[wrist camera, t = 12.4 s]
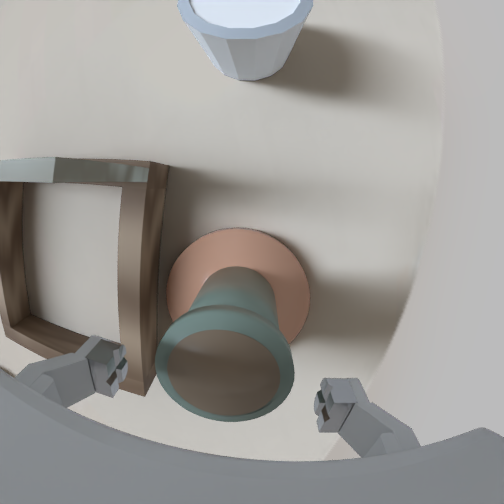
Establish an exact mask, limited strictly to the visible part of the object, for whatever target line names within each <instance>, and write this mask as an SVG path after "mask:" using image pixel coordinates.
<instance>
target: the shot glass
mask: <svg viewBox="0 0 504 504" xmlns="http://www.w3.org/2000/svg"><path fill="white" fill-rule="evenodd" d="M177 7H178V9H179V11H180V14H181V16H182V19H183V21H184V22H185V24H186V25H187V26H188V28H189V29H190V31H191V32H192V34H193V35H194V36H195V38H196V39H197V41H198V42H199V44H200V45H201V47H202V48H203V50H204V51H205V52H206V54H207V55H208V57H209V58H210V60H211V61H212V63H213V65H214V66H215V67H216V68H217V69H218V70H219V71H221V72H222V73H223V74H224V75H226V76H229V77H232V78H234V79H237V80H252V81H256V80H259V79H262V78H266V77H269V76H271V75H273V74H274V73H276V72H277V71H278V70H280V69H281V68H282V67H283V65H284V63H285V62H286V60H287V58H288V56H289V54H290V52H291V50H292V48H293V46H294V43H295V41H296V39H297V37H298V35H299V33H300V31H301V29H302V27H303V25H304V23H305V21H306V19H307V17H308V15H309V13H310V11H311V9H312V7H313V0H178V4H177Z"/></svg>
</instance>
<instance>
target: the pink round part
mask: <svg viewBox="0 0 504 504" xmlns="http://www.w3.org/2000/svg"><path fill="white" fill-rule="evenodd" d="M232 266H240V267H246V268H249V269H252V270H254V271H256V272H258V273H259V274H261V275H262V276H263V277H264V278H265V279H266V280H267V281H268V282H269V284H270V285H271V287H272V289H273V291H274V295H275V301H276V308H277V316H278V323H279V330H280V331H281V332H282V334H283V335H284V337H285V338H286V340H287V342H288V344H290V343H291V342H292V341H293V340H294V339H295V338H296V336H297V335H298V334H299V332H300V331H301V329H302V327H303V325H304V323H305V321H306V318H307V315H308V312H309V306H310V291H309V285H308V281H307V277H306V275H305V273H304V270H303V268H302V266H301V265H300V263H299V261H298V260H297V258H296V257H295V255H294V254H293V253H292V252H291V251H290V250H289V249H288V248H287V247H286V246H285V245H284V244H283V243H281V242H280V241H279V240H277V239H276V238H274V237H272V236H270V235H268V234H266V233H263V232H261V231H258V230H253V229H249V228H226V229H220V230H217V231H213V232H210V233H208V234H206V235H204V236H202V237H200V238H199V239H197V240H196V241H194V242H193V243H192V244H191V245H190V246H189V247H187V248H186V249H185V250H184V251H183V252H182V253H181V255H180V256H179V257H178V258H177V260H176V262H175V263H174V265H173V267H172V269H171V271H170V274H169V277H168V281H167V288H166V300H167V306H168V310H169V313H170V316H171V319H172V321H173V322H174V321H175V320H176V319H178V318H179V317H180V316H181V315H183V314H185V313H187V312H188V311H189V309H190V307H191V305H192V303H193V302H194V300H195V298H196V296H197V295H198V293H199V291H200V289H201V288H202V286H203V284H204V283H205V281H206V280H207V279H208V277H209V276H211V275H212V274H213V273H215V272H216V271H218V270H220V269H223V268H226V267H232Z"/></svg>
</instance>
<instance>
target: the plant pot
mask: <svg viewBox="0 0 504 504" xmlns="http://www.w3.org/2000/svg"><path fill="white" fill-rule="evenodd" d="M155 369H156V373H157V377H158V379H159V381H160V383H161V385H162V387H163V388H164V390H165V391H166V392H167V394H168V395H169V396H170V397H171V398H172V399H173V400H174V401H175V402H177V403H178V404H179V405H180V406H182V407H183V408H185V409H186V410H188V411H190V412H192V413H194V414H196V415H199V416H201V417H204V418H208V419H212V420H216V421H224V422H239V421H247V420H251V419H255V418H258V417H261V416H263V415H265V414H267V413H269V412H271V411H273V410H274V409H276V408H277V407H278V406H279V405H280V404H281V403H282V402H283V401H284V400H285V399H286V398H287V396H288V394H289V393H290V391H291V388H292V386H293V382H294V365H293V359H292V354H291V350H290V346H289V344H288V342H287V340H286V338H285V337H284V335H283V334H282V332H281V331H280V330H279V323H278V316H277V308H276V301H275V295H274V291H273V289H272V287H271V285H270V284H269V282H268V281H267V280H266V279H265V278H264V277H263V276H262V275H261V274H259V273H258V272H256V271H254V270H252V269H249V268H246V267H240V266H232V267H226V268H223V269H220V270H218V271H216V272H215V273H213V274H212V275H211V276H209V277H208V279H207V280H206V281H205V283H204V284H203V286H202V288H201V289H200V291H199V293H198V295H197V296H196V298H195V300H194V302H193V303H192V305H191V307H190V309H189V311H188V312H187V313H185V314H183V315H181V316H180V317H179V318H178V319H176V320H175V321H174V322H173V323H172V324H171V326H170V327H169V329H168V330H167V332H166V333H165V335H164V336H163V338H162V340H161V341H160V343H159V345H158V348H157V350H156V355H155Z"/></svg>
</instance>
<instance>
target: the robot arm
mask: <svg viewBox="0 0 504 504" xmlns="http://www.w3.org/2000/svg"><path fill="white" fill-rule="evenodd" d="M125 354H126V347H125V346H124V345H123V344H120V343H117V342H114V341H111V340H108V339H105V338H102V337H99V336H96V335H93V336H91V337H90V338H89V339H88V340H87V341H86V342H85V343H84V344H83V345H82V346H81V347H80V348H79V349H78V350H77V351H76V352H75V354H74V353H68V354H65V355H61V356H58V357H54V358H50V359H47V360H43V361H39V362H35V363H31V364H28V365H27V366H26V367H25V368H24V369H23V370H22V371H21V372H20V373H19V374H18V375H17V376H16V377H15V378H13V377H12V376H10V375H9V374H8V373H6V372H5V371H3V370H2V369H0V504H504V437H502V436H500V435H499V434H497V433H495V432H493V431H491V430H489V429H486V428H477V429H474V430H472V431H469V432H466V433H464V434H461V435H458V436H455V437H452V438H449V439H446V440H443V441H440V442H436V443H432V444H429V445H425V446H420V444H419V442H418V440H417V438H416V436H415V434H414V432H413V430H412V428H410V427H409V426H407V425H406V424H404V423H403V422H401V421H400V420H398V419H396V418H395V417H394V416H392V415H391V414H389V413H387V412H386V411H385V410H383V409H382V408H380V407H379V406H377V405H376V404H374V403H370V402H369V400H368V397H367V395H366V393H365V391H364V389H363V387H362V384H361V382H360V380H359V379H358V378H324V379H323V380H322V382H321V384H320V386H321V390H320V391H318V392H317V394H316V397H315V401H314V411H315V414H316V415H318V416H319V417H318V419H317V425H318V430H319V432H338V434H339V435H340V436H341V437H342V438H343V439H344V440H345V441H346V442H347V443H348V444H349V445H350V446H351V447H352V448H353V449H354V450H355V451H356V452H357V453H358V454H359V455H360V456H361V457H362V458H354V459H343V460H329V461H268V460H254V459H244V458H235V457H227V456H220V455H213V454H208V453H202V452H197V451H192V450H187V449H182V448H178V447H174V446H170V445H166V444H162V443H158V442H154V441H151V440H147V439H144V438H141V437H138V436H134V435H131V434H128V433H125V432H123V431H120V430H117V429H114V428H112V427H109V426H106V425H104V424H101V423H99V422H96V421H94V420H92V419H89V418H87V417H85V416H82V415H80V414H78V413H76V412H74V411H72V410H70V409H68V408H67V407H69V406H71V405H73V404H75V403H77V402H79V401H81V400H83V399H85V398H87V397H88V396H90V395H92V394H94V393H95V392H97V393H100V394H103V395H106V396H109V397H112V398H113V397H114V395H115V394H116V392H117V391H118V389H119V384H118V383H120V382H123V381H124V379H125V377H126V374H127V371H128V362H127V360H126V359H125V357H124V356H125Z"/></svg>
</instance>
